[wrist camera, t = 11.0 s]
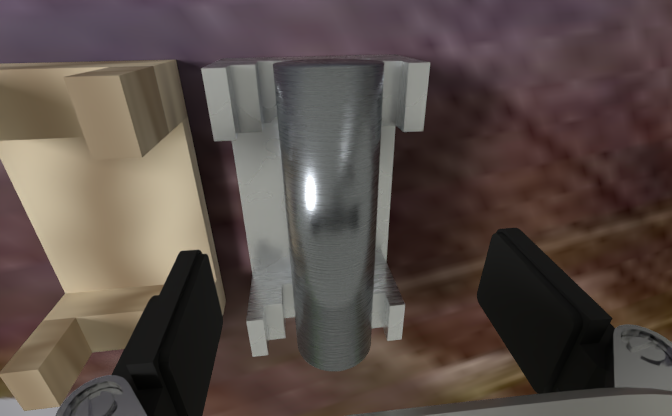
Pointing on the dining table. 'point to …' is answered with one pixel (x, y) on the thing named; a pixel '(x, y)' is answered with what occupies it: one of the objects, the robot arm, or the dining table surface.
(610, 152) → the dining table surface
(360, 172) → the steel axle
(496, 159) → the dining table surface
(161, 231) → the bearing cradle
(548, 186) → the dining table surface
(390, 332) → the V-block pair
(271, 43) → the dining table surface
